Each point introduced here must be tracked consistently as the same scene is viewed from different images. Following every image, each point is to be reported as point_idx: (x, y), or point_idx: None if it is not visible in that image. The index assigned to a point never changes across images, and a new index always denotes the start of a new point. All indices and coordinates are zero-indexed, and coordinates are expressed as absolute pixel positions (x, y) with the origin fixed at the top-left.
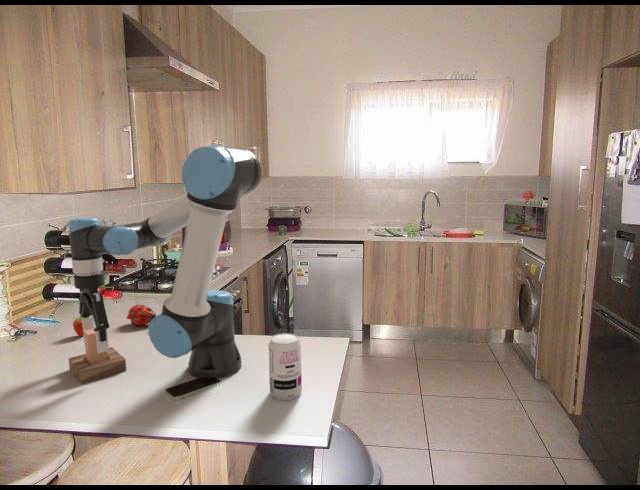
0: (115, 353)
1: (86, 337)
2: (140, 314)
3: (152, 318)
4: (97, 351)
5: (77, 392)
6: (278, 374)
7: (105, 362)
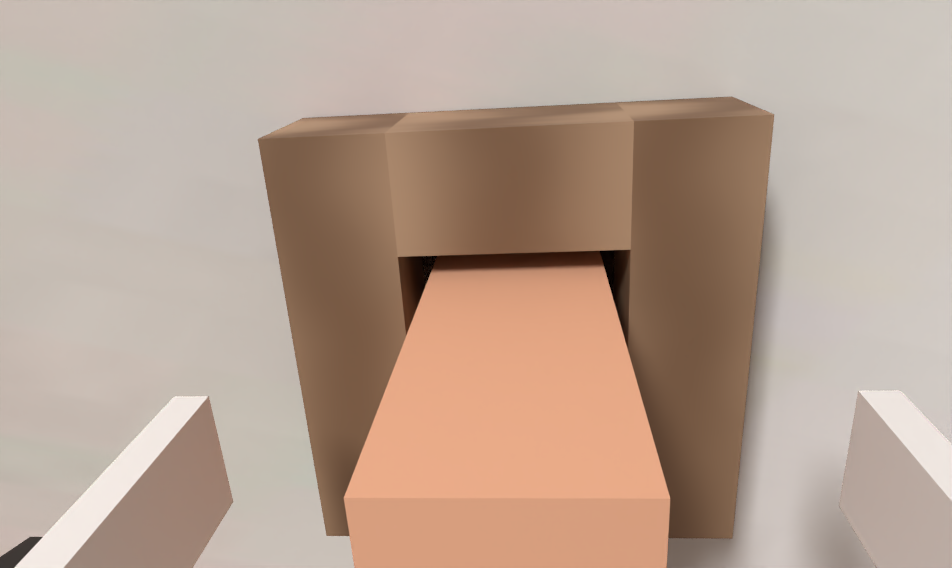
0: (503, 162)
1: None
2: None
3: None
4: (848, 517)
5: (836, 508)
6: None
7: (692, 317)
